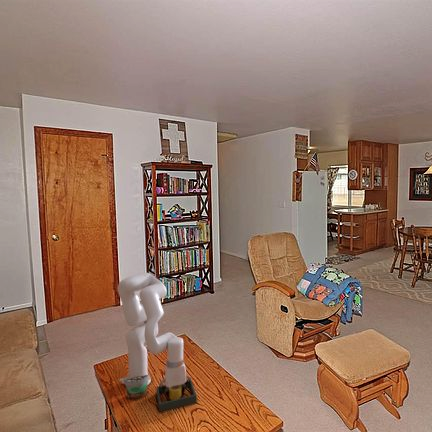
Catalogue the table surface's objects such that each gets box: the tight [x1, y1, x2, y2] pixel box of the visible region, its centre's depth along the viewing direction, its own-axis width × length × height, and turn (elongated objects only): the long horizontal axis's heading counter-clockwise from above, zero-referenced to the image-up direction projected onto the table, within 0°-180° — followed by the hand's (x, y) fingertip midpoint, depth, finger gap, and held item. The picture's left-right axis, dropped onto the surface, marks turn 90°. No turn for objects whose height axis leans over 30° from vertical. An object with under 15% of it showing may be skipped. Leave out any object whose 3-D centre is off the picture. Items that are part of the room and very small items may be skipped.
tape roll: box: [168, 385, 183, 401], centre depth 175 cm, size 7×7×5 cm
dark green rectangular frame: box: [156, 379, 197, 413], centre depth 175 cm, size 18×16×4 cm
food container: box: [123, 373, 150, 400], centre depth 175 cm, size 12×6×10 cm, turn 118°
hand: (175, 394), depth 176 cm, fingers closed on tape roll, 6 cm apart
